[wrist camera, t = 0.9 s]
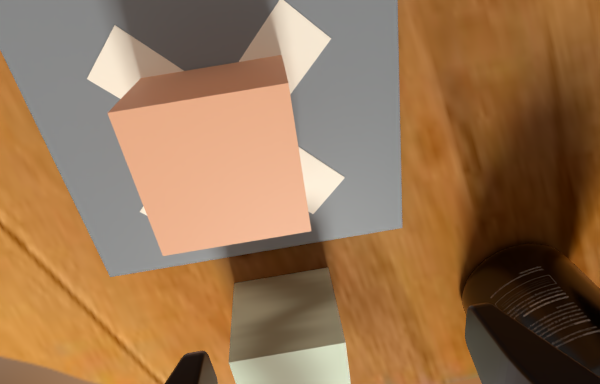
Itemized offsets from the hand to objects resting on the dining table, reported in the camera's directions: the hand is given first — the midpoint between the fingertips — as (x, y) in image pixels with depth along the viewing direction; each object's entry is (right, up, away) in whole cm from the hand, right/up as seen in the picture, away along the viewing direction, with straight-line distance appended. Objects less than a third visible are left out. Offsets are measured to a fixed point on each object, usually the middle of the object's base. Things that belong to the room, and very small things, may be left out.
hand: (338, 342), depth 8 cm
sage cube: (-1, -4, +17) cm, 18 cm away
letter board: (-4, +6, +11) cm, 13 cm away
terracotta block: (-4, +6, +11) cm, 13 cm away
